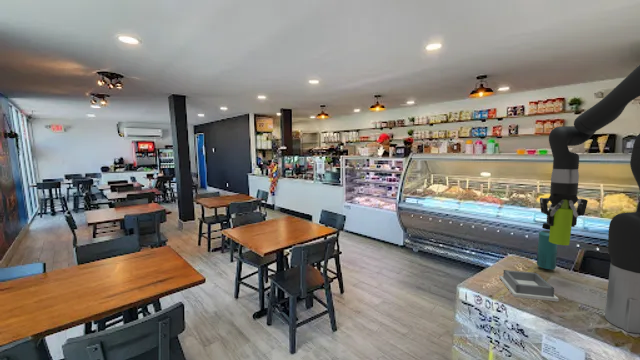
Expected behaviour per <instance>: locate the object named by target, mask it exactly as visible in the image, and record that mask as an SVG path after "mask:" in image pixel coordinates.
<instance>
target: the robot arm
mask: <svg viewBox="0 0 640 360" xmlns="http://www.w3.org/2000/svg"><path fill="white" fill-rule="evenodd" d="M638 97H640V64H639V65H638V66H637V67H635V68H634V69H633V70H632V71H631V72H630V74H628V75H627V76H626V77H625V78H624V79H623V80H621V82H620V83H619V84H617V86H616V87H614V88H613V89H612V90H611V91H610V92H609V93H608V94H607V95H606V96H604V97H603V98H602V99H601V100H599V101H598V102H596V104H593V105H592V107H589V108H588V109H587V110H586V111H584V112H582V113H581V114H580V115H578V116H577V117H576V118H575V119H574V120H573V125H570V126H569V125H567V126H564V125H562V126H561V125H559V126H556V127H554V128H553V129H552V130H551V131H550V133H549V135H548V144H549V147H550V150H551V154H552V158H553V161H552V171H551V177H550V190H549V191H550V195H549V196H548V197H540V198H539V206H540V212H541V214H544V215H546V223H548V225H550V226H553V224H554V216H553V215H554V214H555V212H556V211H558V209H559V208H561V205H562V204H563V203H564V200H565V199H566V200H568V204H569V208H570V209H571V210H573V218H572V227H571V228H575V227H576V226H577V223H578V222H577V221H578V217H580V216H583V217H584V216H585V213H586V210H587V209H586V208H587V206H588V202H589V201H588V199H585V198H578V194H579V193H578V192H579V179H580V173H579V168H580V167H579V165H580V155H579V153H575V152H573V151H572V152H571V151H570V149H569V146H570V147H573V146H574V147H576V146H579V145H582V144H584V143H586V142H587V141H588V140H589V139H590V138H591V137H593V135H594V134H595V133H596V132H598V131H599V130H601V129H602V128H604V127H606V126H607V125H609V124H611V123H612V122H613V121H614V122H615V120H617V119H618V118H619V116H621V114H622V113H623V112H624V111H625V109H626V107H628V106H627V105H629V104H630V103H631V102H632V101H633V100H635V99H637V98H638ZM629 162H630V164H629V165H630V169H631V173H632V175H633V178H634V180H635V182H636V184H637V186H638V190H639V191H640V133H638V135H637V136H636V138H635V140H634V142H633V145H632V150H631V156H630V161H629ZM638 200H639V201H638V204H637V208H636V211H634V212H633V211H631V212H621V213H617V214H615V215H614V216H613V217H612V218H611V220H610V222H609V225H608V237H607V238H608V240H607V250H608V254H609V257H610V267H609V274H608V275H609V276H608V283H607V292H606V293H607V294H606V300H605V313H604V319H605V320H606V321H608V323H609V324H612V325H614V326H615V327H618V328H620V329H621V330H625V331H626V332H627V333H634V334H640V198H639V199H638ZM549 202H550V205H549V207H548V204H549ZM576 203H577V207H576V206H575V204H576ZM553 207H554V208H553ZM569 208H568V209H569Z"/></svg>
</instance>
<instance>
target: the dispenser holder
mask: <svg viewBox="0 0 640 360" xmlns="http://www.w3.org/2000/svg"><path fill="white" fill-rule="evenodd" d="M498 277H499V278H500V279H501V280H502V281H501V280H500V279H499V280H500V281H501V282H502V283H504V284H505V285H504V284H503V285H504V286H505V287H506V288H508V289H509V290H508V289H507V290H508V291H509V293H510V294H511V293H512V294H511V295H512V297H514V298H522V299H531V300H540V301H541V300H542V301H551V302H559V301H560V299H559V297H558V296H556V295H555V288H554V287H553V286H552V285H551V284H550V283H549V282H547V281H546V280H545V279H544V278H543V277H542V276H541V275H540V274H538V273H537V272H531V271H519V270H510V269H509V270H508V269H503V274H502V275H499V276H498Z"/></svg>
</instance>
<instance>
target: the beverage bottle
mask: <svg viewBox="0 0 640 360" xmlns="http://www.w3.org/2000/svg"><path fill="white" fill-rule="evenodd" d="M542 229H543V230H541V231H539V232H538V242H537V254H536V255H537V256H536V265H537V267H540V268H542V269H546V270H556V268H557V261H558V258H557V256H558V244H554V243H551V242H549V234H550V225H548V223H547V222H544V223H542Z"/></svg>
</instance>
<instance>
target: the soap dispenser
mask: <svg viewBox="0 0 640 360" xmlns="http://www.w3.org/2000/svg"><path fill="white" fill-rule="evenodd" d="M579 193H580V192H579V191H578V194H579ZM553 208H554V207H553ZM568 208H569V204H568V200H566V199H565V200H564V203H563V204H562V205H561V208H559V209H558V211H556V212H555V214H554V215H553V216H554V224H553V226H550V230H549V231H550V234H549V242H551V243H554V244H557V246H558V245H559V246H570V242H571V233H572V228H573V227H572V218H573V210H571V209H570V208H569V209H568Z"/></svg>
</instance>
